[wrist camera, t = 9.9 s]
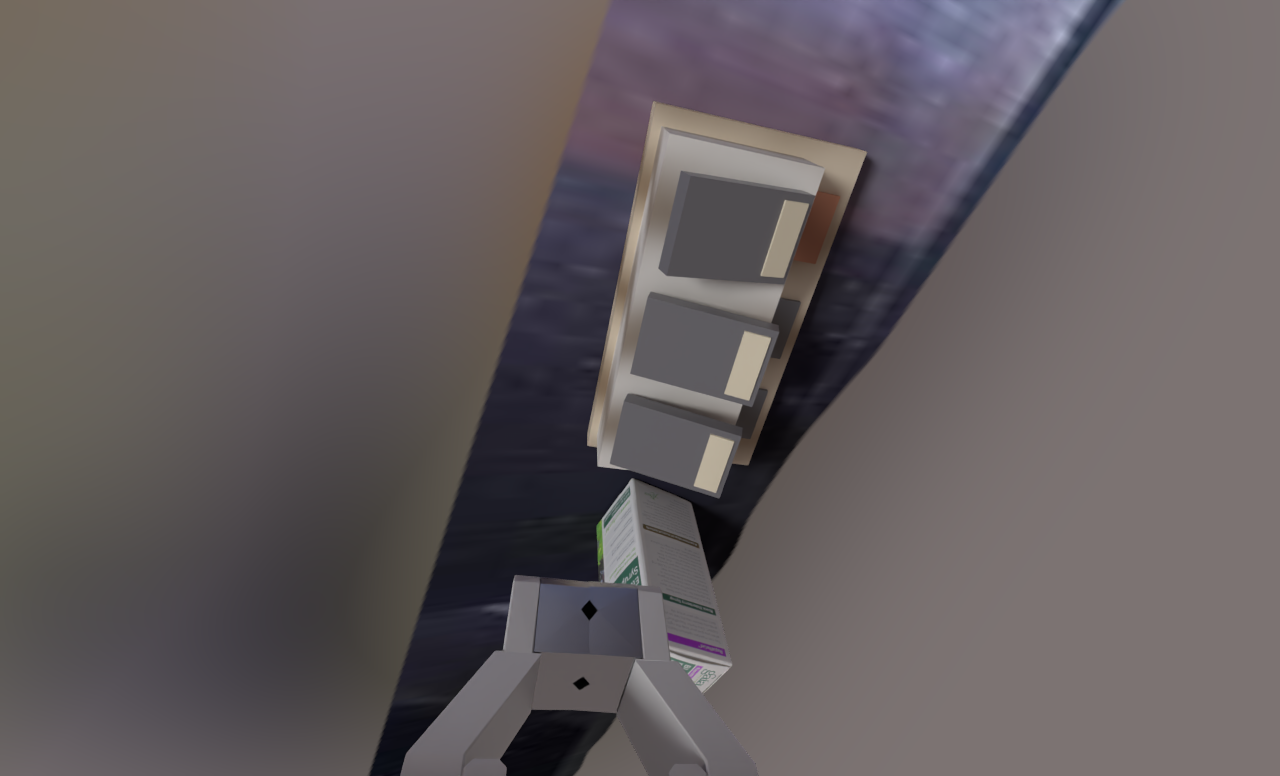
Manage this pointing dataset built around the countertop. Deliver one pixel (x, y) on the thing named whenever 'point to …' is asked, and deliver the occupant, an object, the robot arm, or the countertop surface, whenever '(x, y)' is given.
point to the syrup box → (667, 573)
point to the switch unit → (736, 155)
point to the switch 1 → (733, 229)
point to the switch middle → (703, 349)
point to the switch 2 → (675, 445)
